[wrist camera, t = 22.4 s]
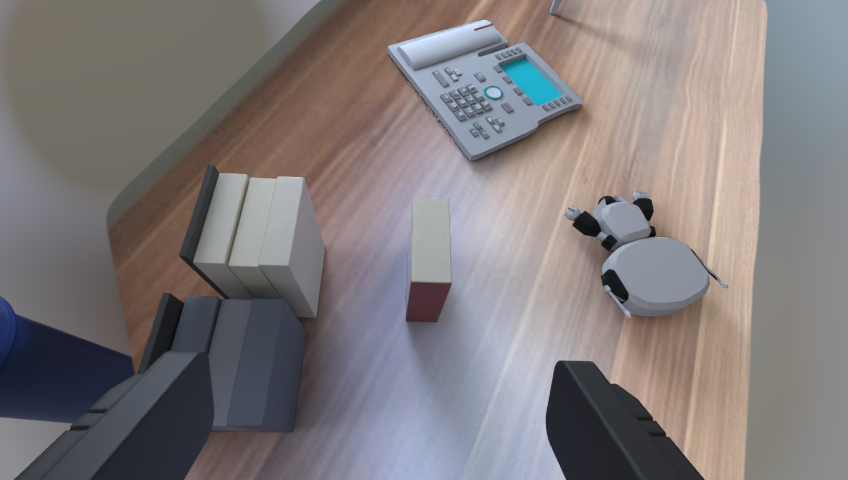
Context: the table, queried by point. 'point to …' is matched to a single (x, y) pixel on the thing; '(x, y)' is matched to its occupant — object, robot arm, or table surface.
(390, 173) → the table surface
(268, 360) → the grey books
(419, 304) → the cream book
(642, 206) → the robot toy
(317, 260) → the white books
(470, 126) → the office telephone
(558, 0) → the pen
